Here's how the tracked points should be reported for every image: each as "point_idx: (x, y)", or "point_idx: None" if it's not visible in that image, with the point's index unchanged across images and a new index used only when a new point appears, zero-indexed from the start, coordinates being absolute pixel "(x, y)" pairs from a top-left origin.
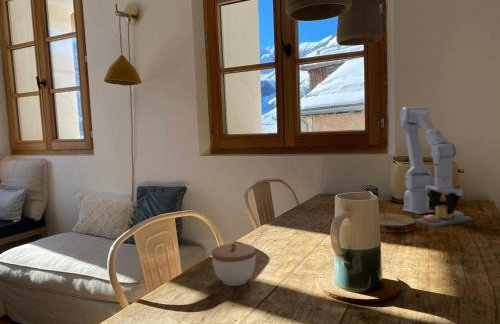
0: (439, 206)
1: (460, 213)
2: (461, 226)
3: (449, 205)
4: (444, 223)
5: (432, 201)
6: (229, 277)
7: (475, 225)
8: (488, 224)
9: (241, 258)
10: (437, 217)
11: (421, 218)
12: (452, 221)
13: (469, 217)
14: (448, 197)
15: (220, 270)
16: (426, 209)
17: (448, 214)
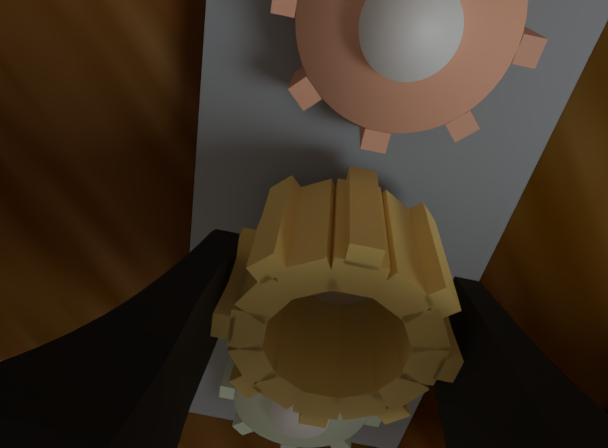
0: (409, 349)
1: (239, 398)
2: (81, 131)
3: (141, 294)
4: (206, 28)
5: (544, 383)
6: None
7: (47, 253)
8: (25, 340)
9: None
10: (304, 45)
11: (583, 46)
12: (195, 178)
13: (195, 397)
14: (2, 402)
15: None
16: None
17: (250, 247)
